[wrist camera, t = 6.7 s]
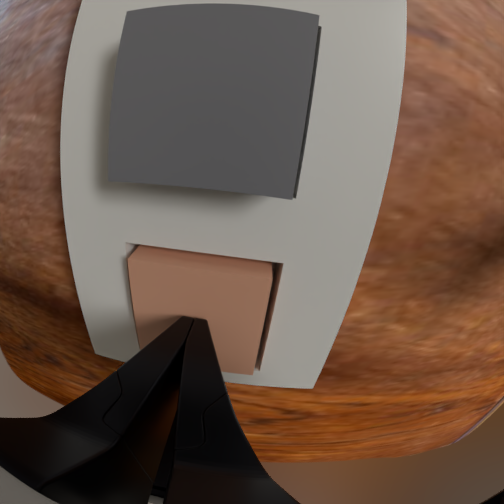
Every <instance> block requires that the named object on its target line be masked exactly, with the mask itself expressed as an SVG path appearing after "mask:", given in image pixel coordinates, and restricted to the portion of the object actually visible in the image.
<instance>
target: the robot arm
mask: <svg viewBox="0 0 504 504" xmlns="http://www.w3.org/2000/svg"><path fill="white" fill-rule="evenodd" d="M148 502H150V503H154V504H300V503H299V502H298V501H296V500H295V499H294V498H293V497H292V496H291V495H289V494H288V493H287V492H286V491H285V490H284V489H283V488H281V487H280V486H279V485H278V484H277V483H276V482H275V481H273V479H272V478H271V477H270V476H269V475H268V473H267V472H266V471H265V469H264V468H263V466H262V465H261V463H260V461H259V460H258V458H257V456H256V454H255V453H254V451H253V449H252V447H251V445H250V444H249V442H248V440H247V438H246V436H245V434H244V433H243V431H242V429H241V426H240V424H239V422H238V420H237V418H236V415H235V413H234V410H233V407H232V404H231V401H230V398H229V395H228V392H227V389H226V385H225V382H224V379H223V375H222V372H221V368H220V365H219V361H218V358H217V354H216V351H215V347H214V343H213V340H212V336H211V332H210V328H209V325H208V321H207V320H206V319H201V318H195V319H194V318H193V317H188V316H182V317H180V318H179V319H178V320H177V321H175V322H174V323H173V324H172V325H171V326H169V327H168V328H167V329H166V330H165V331H163V332H162V333H161V334H160V335H159V336H157V337H156V338H155V339H154V340H152V341H151V342H150V343H149V344H148V345H146V346H145V347H144V348H143V349H142V350H140V351H139V352H138V353H137V354H135V355H134V356H133V357H132V358H131V359H129V360H128V361H127V362H126V363H125V364H123V365H122V366H121V367H120V368H118V369H117V372H116V371H115V372H113V373H112V374H111V375H110V376H109V377H107V378H106V379H105V380H103V381H102V382H101V383H99V384H98V385H97V386H95V387H94V388H92V389H91V390H89V391H88V392H86V393H85V394H83V395H82V396H80V397H79V398H77V399H75V400H74V401H72V402H71V403H69V404H67V405H66V406H64V407H62V408H61V409H59V410H57V411H56V412H54V413H52V414H50V415H47V416H43V417H38V418H0V504H148ZM479 504H504V489H503V490H502V491H500V492H498V493H497V494H495V495H493V496H492V497H490V498H488V499H487V500H485V501H483V502H481V503H479Z"/></svg>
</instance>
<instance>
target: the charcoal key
mask: <svg viewBox="0 0 504 504" xmlns="http://www.w3.org/2000/svg"><path fill="white" fill-rule="evenodd" d="M319 16H320V15H316V14H312V13H307V12H301V11H296V10H290V9H283V8H276V7H268V6H258V5H245V4H220V3H206V4H181V5H169V6H159V7H151V8H144V9H137V10H131V11H127V13H126V17H125V21H124V26H123V30H122V35H121V40H120V45H119V50H118V56H117V62H116V68H115V75H114V82H113V91H112V100H111V111H110V124H109V144H108V181H110V182H129V183H144V184H158V185H170V186H181V187H192V188H202V189H211V190H220V191H229V192H237V193H245V194H253V195H261V196H268V197H275V198H282V199H288V200H292V199H293V194H294V188H295V182H296V176H297V170H298V165H299V158H300V152H301V146H302V140H303V134H304V127H305V121H306V114H307V108H308V101H309V94H310V87H311V80H312V72H313V65H314V57H315V49H316V41H317V33H318V24H319Z"/></svg>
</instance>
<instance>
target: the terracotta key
mask: <svg viewBox="0 0 504 504" xmlns="http://www.w3.org/2000/svg"><path fill="white" fill-rule="evenodd" d="M128 269H129V279H130V287H131V295H132V302H133V309H134V316H135V322H136V328H137V334H138V339H139V345H140V350H142V349H143V348H144V347H145V346H146V345H148V344H149V343H150V342H151V341H152V340H154V339H155V338H156V337H157V336H159V335H160V334H161V333H162V332H163V331H165V330H166V329H167V328H168V327H169V326H171V325H172V324H173V323H174V322H175V321H177V320H178V319H179V318H180V317H182V316H188V317H193V318H194V319H195V318H201V319H206V320H207V321H208V325H209V328H210V332H211V336H212V340H213V343H214V347H215V351H216V354H217V358H218V361H219V365H220V368H221V372H228V373H236V374H245V375H253V372H254V368H255V363H256V358H257V354H258V349H259V344H260V339H261V335H262V330H263V325H264V320H265V315H266V310H267V305H268V300H269V295H270V290H271V285H272V280H273V278H272V262H270V261H262V260H254V259H247V258H239V257H231V256H224V255H216V254H208V253H201V252H193V251H186V250H178V249H171V248H164V247H156V246H149V245H142V244H140V245H139V247H138V248H137V249H136V250H135V251H134V252H133V253H132V254H131V256H130V257H129V258H128Z"/></svg>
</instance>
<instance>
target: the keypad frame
mask: <svg viewBox="0 0 504 504" xmlns="http://www.w3.org/2000/svg"><path fill="white" fill-rule="evenodd" d="M206 3H220V4H245V5H258V6H268V7H276V8H283V9H290V10H296V11H301V12H307V13H312V14H316V15H320V16H319V24H318V33H317V41H316V49H315V57H314V65H313V72H312V80H311V87H310V94H309V101H308V108H307V114H306V121H305V127H304V134H303V140H302V146H301V152H300V158H299V165H298V170H297V176H296V182H295V188H294V194H293V199H292V200H288V199H282V198H275V197H268V196H261V195H253V194H245V193H237V192H229V191H220V190H211V189H202V188H192V187H181V186H170V185H158V184H144V183H129V182H110V181H108V144H109V124H110V111H111V100H112V91H113V82H114V75H115V68H116V62H117V56H118V50H119V45H120V40H121V35H122V30H123V26H124V21H125V17H126V13H127V11H131V10H137V9H144V8H151V7H159V6H169V5H181V4H206ZM406 23H407V5H406V0H82V3H81V6H80V10H79V13H78V17H77V21H76V24H75V28H74V33H73V37H72V42H71V46H70V52H69V57H68V63H67V69H66V76H65V83H64V92H63V102H62V115H61V140H60V161H61V186H62V200H63V211H64V220H65V228H66V235H67V242H68V248H69V254H70V260H71V265H72V270H73V275H74V280H75V284H76V289H77V293H78V297H79V301H80V305H81V309H82V312H83V316H84V320H85V323H86V326H87V330H88V333H89V336H90V339H91V342H92V345H93V348H94V351H95V354H98V355H101V356H105V357H108V358H112V359H115V360H119V361H122V362H127V361H128V360H129V359H131V358H132V357H133V356H134V355H135V354H137V353H138V352H139V351H140V345H139V339H138V334H137V328H136V322H135V316H134V309H133V302H132V295H131V287H130V279H129V269H128V258H129V257H130V256H131V254H132V253H133V252H134V251H135V250H136V249H137V248H138V247H139V245H140V244H142V245H149V246H156V247H164V248H171V249H178V250H186V251H193V252H201V253H208V254H216V255H224V256H231V257H239V258H247V259H254V260H262V261H270V262H272V278H273V280H272V285H271V290H270V295H269V300H268V305H267V310H266V315H265V320H264V325H263V330H262V335H261V339H260V344H259V349H258V354H257V358H256V363H255V368H254V372H253V375H245V374H236V373H228V372H222V375H223V379H224V382H231V383H239V384H249V385H259V386H271V387H287V388H312V389H313V387H314V385H315V382H316V380H317V378H318V376H319V374H320V372H321V370H322V368H323V365H324V363H325V361H326V359H327V356H328V354H329V352H330V350H331V347H332V345H333V343H334V340H335V338H336V335H337V333H338V331H339V328H340V326H341V323H342V321H343V318H344V316H345V313H346V310H347V308H348V305H349V302H350V300H351V297H352V294H353V292H354V289H355V286H356V283H357V280H358V277H359V274H360V271H361V268H362V265H363V262H364V259H365V256H366V253H367V250H368V247H369V243H370V240H371V237H372V233H373V230H374V226H375V223H376V219H377V215H378V212H379V208H380V204H381V200H382V196H383V192H384V188H385V184H386V179H387V175H388V170H389V166H390V161H391V156H392V151H393V146H394V140H395V135H396V129H397V123H398V116H399V109H400V102H401V94H402V85H403V76H404V64H405V50H406Z"/></svg>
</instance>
